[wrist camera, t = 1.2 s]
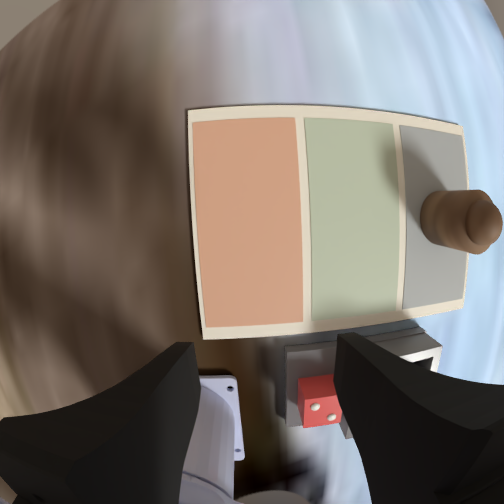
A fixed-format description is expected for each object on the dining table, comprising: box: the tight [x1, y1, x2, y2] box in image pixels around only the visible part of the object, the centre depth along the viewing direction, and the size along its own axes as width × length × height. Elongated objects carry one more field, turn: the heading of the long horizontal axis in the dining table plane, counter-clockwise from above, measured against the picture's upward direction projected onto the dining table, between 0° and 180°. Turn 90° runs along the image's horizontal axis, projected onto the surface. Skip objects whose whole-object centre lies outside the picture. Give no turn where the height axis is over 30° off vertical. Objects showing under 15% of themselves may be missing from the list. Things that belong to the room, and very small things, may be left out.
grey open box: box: [285, 327, 443, 439], centre depth 18 cm, size 7×11×4 cm, turn 93°
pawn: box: [420, 190, 503, 254], centre depth 15 cm, size 4×4×6 cm
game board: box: [188, 105, 469, 339], centre depth 18 cm, size 15×21×1 cm
